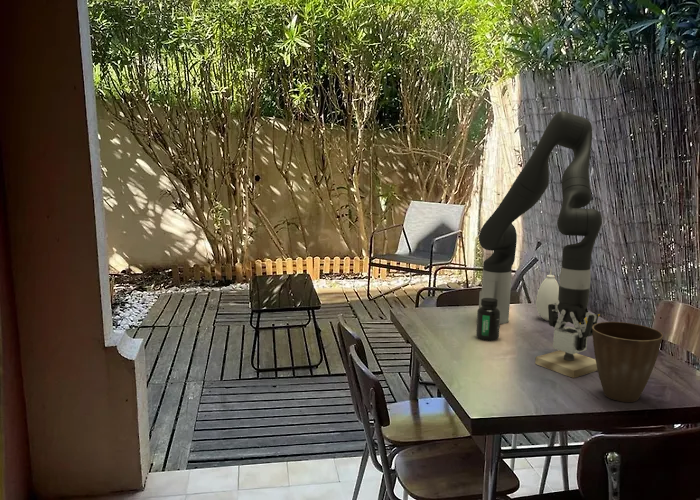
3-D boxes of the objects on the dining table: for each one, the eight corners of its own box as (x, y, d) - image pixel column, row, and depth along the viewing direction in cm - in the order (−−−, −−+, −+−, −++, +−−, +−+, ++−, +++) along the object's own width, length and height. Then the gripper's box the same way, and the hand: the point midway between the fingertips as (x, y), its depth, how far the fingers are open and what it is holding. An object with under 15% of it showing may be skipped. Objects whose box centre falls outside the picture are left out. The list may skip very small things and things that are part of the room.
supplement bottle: (487, 342, 181) (489, 303, 179) (471, 336, 187) (473, 298, 185) (503, 339, 185) (505, 300, 183) (487, 333, 191) (489, 295, 189)
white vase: (549, 324, 201) (553, 270, 198) (530, 318, 207) (533, 266, 204) (564, 320, 205) (568, 268, 202) (545, 315, 211) (549, 264, 208)
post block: (535, 363, 164) (537, 335, 162) (563, 355, 170) (565, 328, 169) (573, 378, 154) (575, 347, 153) (602, 369, 161) (604, 339, 159)
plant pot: (579, 382, 151) (584, 320, 149) (642, 385, 150) (648, 322, 147) (597, 407, 137) (603, 339, 134) (667, 411, 135) (674, 341, 133)
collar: (552, 347, 162) (554, 329, 161) (567, 343, 165) (568, 326, 165) (572, 354, 157) (573, 335, 156) (586, 350, 161) (587, 331, 160)
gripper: (608, 288, 155) (602, 352, 158) (560, 278, 166) (556, 337, 169) (589, 292, 151) (584, 357, 153) (542, 281, 162) (538, 341, 165)
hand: (569, 346), depth 161 cm, fingers closed on collar, 6 cm apart
